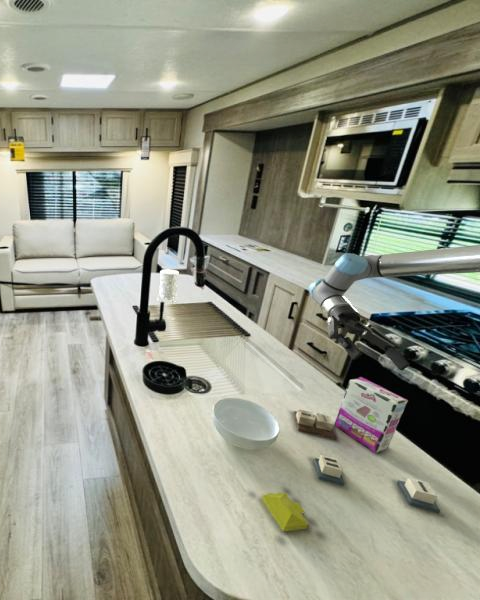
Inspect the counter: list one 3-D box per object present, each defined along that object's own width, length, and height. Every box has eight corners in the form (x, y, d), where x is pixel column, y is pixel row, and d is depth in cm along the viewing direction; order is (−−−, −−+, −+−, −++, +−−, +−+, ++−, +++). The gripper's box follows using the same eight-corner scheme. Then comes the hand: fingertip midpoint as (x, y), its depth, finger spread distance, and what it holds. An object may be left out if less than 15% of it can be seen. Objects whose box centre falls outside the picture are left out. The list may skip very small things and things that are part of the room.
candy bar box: (388, 449, 85) (410, 400, 79) (375, 454, 83) (396, 404, 77) (344, 421, 95) (361, 375, 89) (332, 425, 93) (348, 379, 87)
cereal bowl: (207, 447, 86) (210, 427, 84) (211, 409, 100) (214, 391, 98) (278, 469, 80) (284, 448, 77) (271, 425, 94) (276, 406, 91)
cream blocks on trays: (424, 490, 74) (430, 479, 72) (438, 513, 68) (445, 502, 67) (312, 460, 82) (316, 449, 81) (318, 479, 77) (322, 468, 75)
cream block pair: (327, 421, 95) (330, 411, 94) (335, 439, 88) (339, 429, 87) (293, 413, 98) (295, 403, 97) (298, 430, 91) (301, 421, 90)
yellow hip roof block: (251, 494, 73) (254, 486, 72) (288, 490, 74) (290, 482, 73) (281, 540, 64) (284, 531, 63) (322, 535, 65) (326, 526, 64)
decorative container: (167, 295, 199) (169, 268, 193) (181, 300, 190) (183, 272, 183) (153, 298, 194) (155, 270, 188) (166, 304, 185) (169, 275, 178)
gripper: (368, 329, 105) (413, 380, 88) (297, 313, 105) (328, 361, 88) (386, 312, 100) (436, 363, 84) (311, 296, 100) (346, 343, 83)
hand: (381, 362), depth 86 cm, fingers open, 13 cm apart
